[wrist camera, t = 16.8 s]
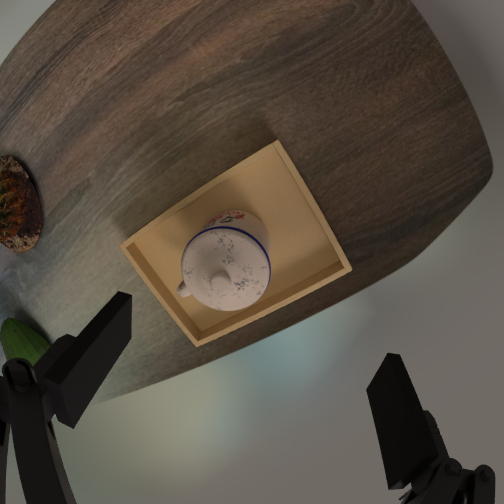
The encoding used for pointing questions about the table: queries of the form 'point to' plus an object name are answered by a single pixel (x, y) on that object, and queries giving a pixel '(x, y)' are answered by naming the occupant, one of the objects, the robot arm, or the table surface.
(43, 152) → the table surface
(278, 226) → the tray
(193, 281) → the teacup with lid
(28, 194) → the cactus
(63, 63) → the table surface
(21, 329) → the fruit
